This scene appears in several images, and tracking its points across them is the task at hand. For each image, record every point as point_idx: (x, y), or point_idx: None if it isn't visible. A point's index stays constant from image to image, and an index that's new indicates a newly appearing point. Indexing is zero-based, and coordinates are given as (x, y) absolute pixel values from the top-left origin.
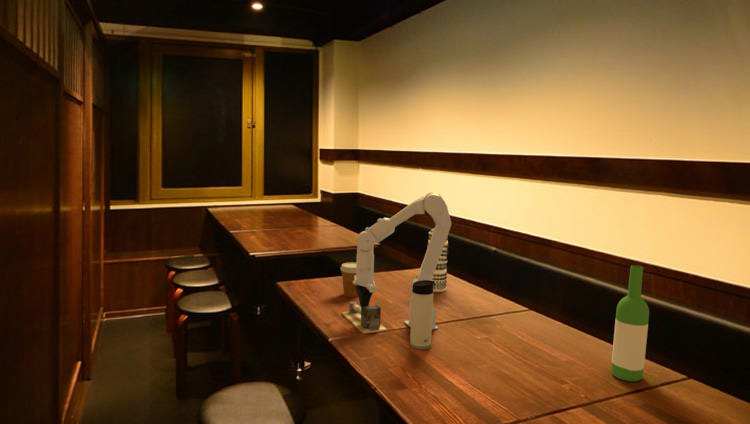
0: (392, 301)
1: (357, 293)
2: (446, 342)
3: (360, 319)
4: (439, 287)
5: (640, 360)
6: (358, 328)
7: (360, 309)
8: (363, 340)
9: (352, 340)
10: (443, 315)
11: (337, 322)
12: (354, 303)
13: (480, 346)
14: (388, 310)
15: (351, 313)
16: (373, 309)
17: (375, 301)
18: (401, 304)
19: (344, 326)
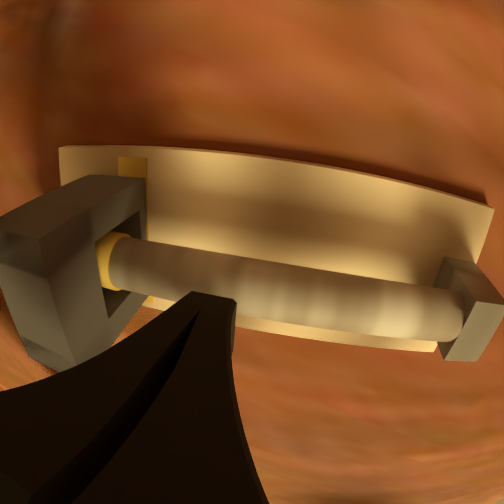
0: (418, 461)
1: (228, 437)
2: (11, 354)
3: (279, 245)
4: None
5: None
6: (129, 145)
7: (287, 297)
8: (11, 116)
9: (24, 61)
10: None
11: (345, 60)
12: (459, 329)
13: (7, 380)
14: (350, 430)
15: (435, 257)
16: (12, 302)
17: (470, 426)
18: (370, 470)
19: (228, 69)
